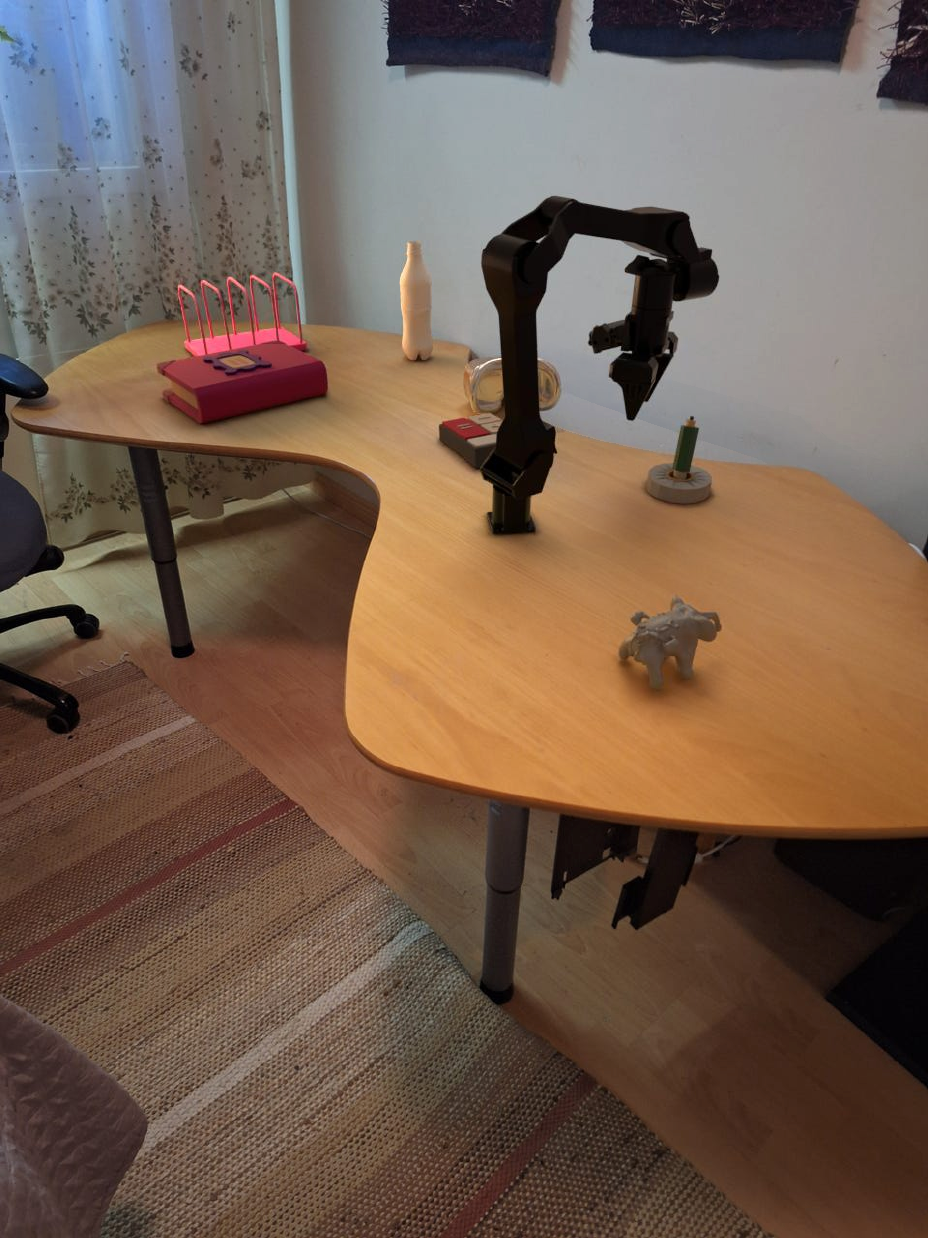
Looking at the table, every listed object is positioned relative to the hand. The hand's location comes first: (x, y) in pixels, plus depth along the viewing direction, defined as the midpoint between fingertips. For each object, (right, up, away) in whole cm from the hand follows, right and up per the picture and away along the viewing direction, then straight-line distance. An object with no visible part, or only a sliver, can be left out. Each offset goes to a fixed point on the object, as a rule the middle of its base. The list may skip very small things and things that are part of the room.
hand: (637, 410), depth 124 cm
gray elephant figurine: (-3, -38, -32) cm, 49 cm away
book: (-73, +14, +43) cm, 86 cm away
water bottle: (-38, +29, +65) cm, 81 cm away
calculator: (-23, -2, +20) cm, 31 cm away
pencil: (+8, -11, +6) cm, 15 cm away
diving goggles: (-18, +9, +36) cm, 42 cm away
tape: (+8, -11, +6) cm, 15 cm away
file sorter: (-80, +33, +71) cm, 112 cm away
